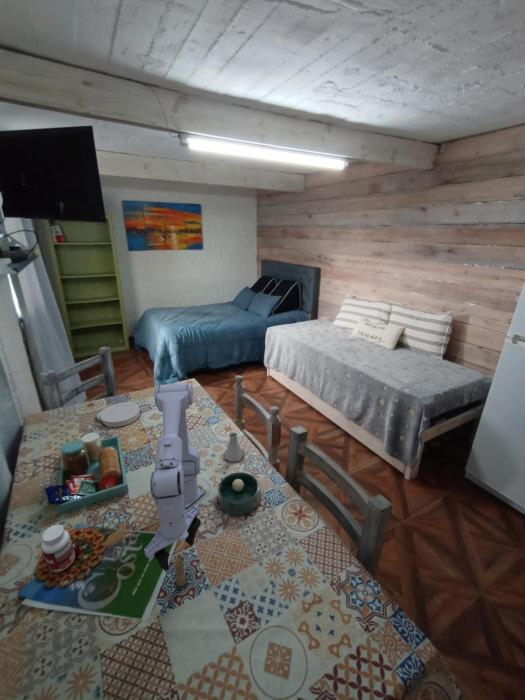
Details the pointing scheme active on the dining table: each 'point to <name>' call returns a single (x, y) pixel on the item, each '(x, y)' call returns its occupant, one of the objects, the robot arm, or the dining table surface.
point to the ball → (237, 485)
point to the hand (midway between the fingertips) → (177, 555)
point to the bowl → (238, 494)
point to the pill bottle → (57, 548)
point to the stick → (179, 571)
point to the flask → (233, 449)
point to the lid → (119, 414)
